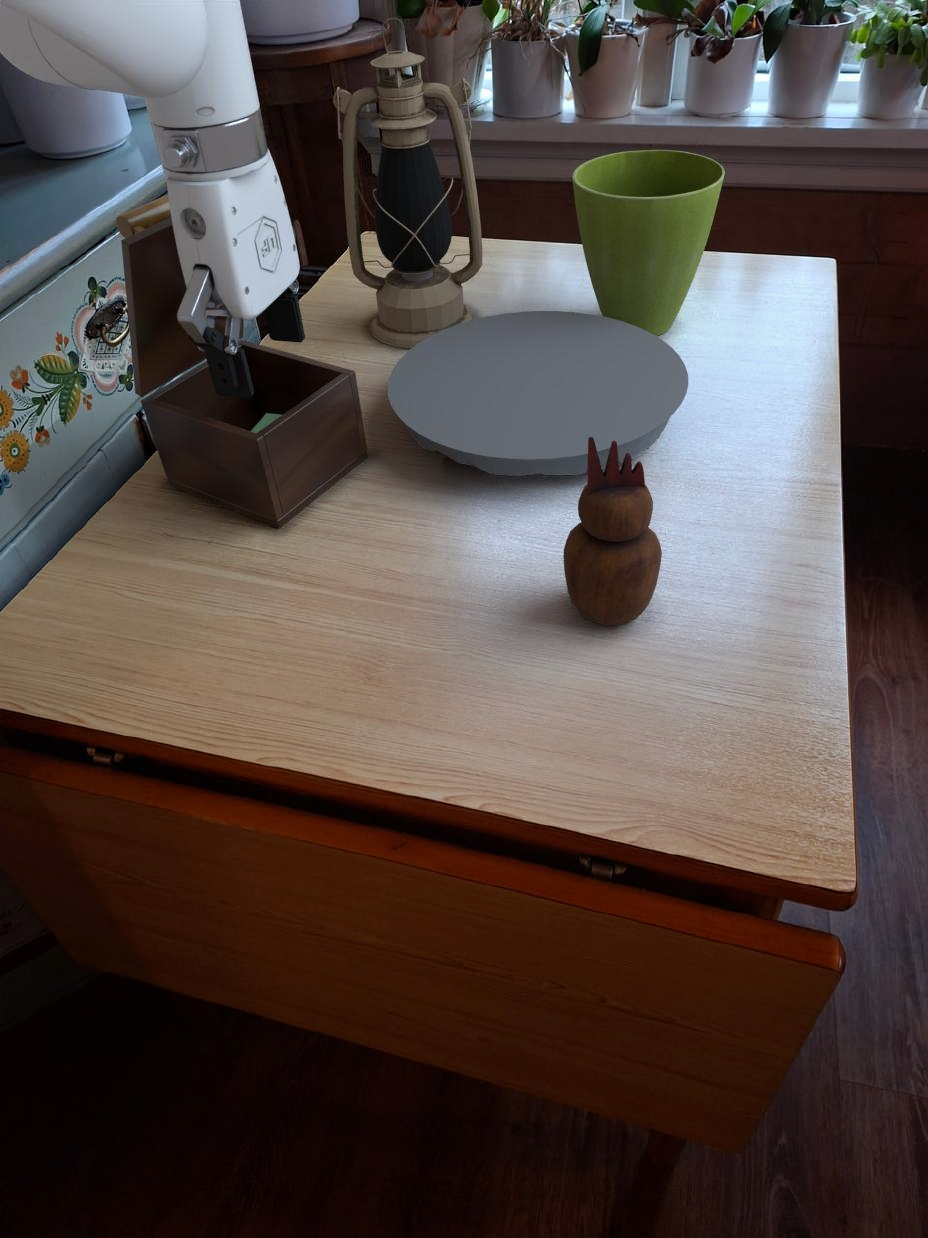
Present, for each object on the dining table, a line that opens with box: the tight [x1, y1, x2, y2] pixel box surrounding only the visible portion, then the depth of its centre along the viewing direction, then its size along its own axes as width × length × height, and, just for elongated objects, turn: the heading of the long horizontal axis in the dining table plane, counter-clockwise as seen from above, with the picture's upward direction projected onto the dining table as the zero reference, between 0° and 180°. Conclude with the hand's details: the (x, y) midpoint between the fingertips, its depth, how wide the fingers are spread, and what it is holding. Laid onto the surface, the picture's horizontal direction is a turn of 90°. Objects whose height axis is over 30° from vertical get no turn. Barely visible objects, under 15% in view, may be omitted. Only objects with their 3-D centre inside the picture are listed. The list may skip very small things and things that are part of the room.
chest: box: [140, 339, 369, 529], centre depth 81 cm, size 14×13×9 cm
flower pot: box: [571, 149, 726, 337], centre depth 96 cm, size 15×15×16 cm
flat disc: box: [386, 310, 689, 477], centre depth 87 cm, size 28×28×4 cm
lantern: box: [332, 17, 484, 350], centre depth 94 cm, size 14×12×30 cm
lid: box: [115, 194, 245, 398], centre depth 76 cm, size 14×13×5 cm
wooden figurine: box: [563, 437, 663, 626], centre depth 62 cm, size 7×6×15 cm
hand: (263, 366), depth 75 cm, fingers open, 9 cm apart
